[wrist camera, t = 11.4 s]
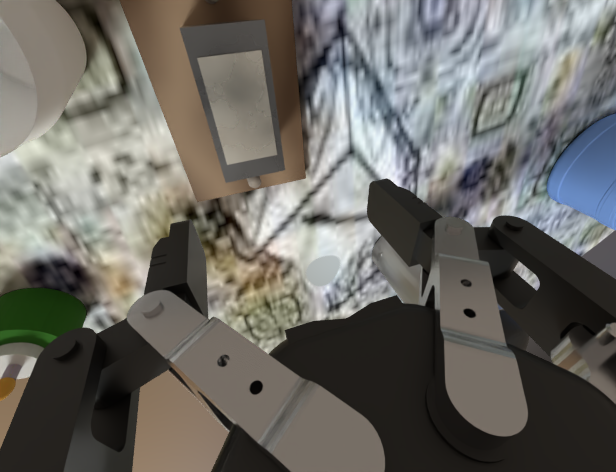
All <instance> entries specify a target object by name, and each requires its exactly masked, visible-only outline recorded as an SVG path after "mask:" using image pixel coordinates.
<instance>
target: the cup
mask: <svg viewBox="0 0 616 472" xmlns="http://www.w3.org/2000/svg"><path fill="white" fill-rule="evenodd" d="M86 62H87V55H86V48H85V44H84V41H83V38H82V36H81V34H80V32H79V30H78V28H77V26H76V24H75V23H74V21H73V20H72V18H71V17H70V16H69V14H68V13H67V12H66V11H65V9H64V8H63V7H62V6H61V5H60V4H59V3H58V2H57V1H56V0H0V157H2V156H4V155H6V154H8V153H10V152H12V151H13V150H15V149H17V148H18V147H20V146H22V145H23V144H25V143H27V142H30V141H32V140H34V139H36V138H38V137H40V136H42V135H43V134H44V133H46V132H47V131H48V130H49V129H50V128H51V127H52V126H53V125H54V124H55V123H56V122H57V120H58V119H59V117H60V116H61V114H62V112H63V110H64V109H65V107H66V105H67V103H68V101H69V100H70V98H71V96H72V94H73V92H74V90H75V88H76V87H77V85H78V83H79V81H80V79H81V77H82V75H83V73H84V71H85V68H86Z"/></svg>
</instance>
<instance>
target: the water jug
mask: <svg viewBox="0 0 616 472" xmlns="http://www.w3.org/2000/svg"><path fill="white" fill-rule="evenodd" d="M547 192H548V194H549V196H550V197H551V198H552V199H553V200H555V201H557V202H559V203H561V204H565V205H568V206H570V207H572V208H574V209H576V210H578V211H580V212H582V213H584V214H586V215H588V216H590V217H592V218H594V219H596V220H597V221H598V222H600V223H601V224H603V225H605V226H607V227H609V228H611V229H614V230H616V114H612V115H609V116H607V117H605V118H603V119H601V120H599V121H597V122H596V123H594V124H593V125H591V126H590V127H589V128H587V129H586V130H585V131H583V132H582V133H581V134H580V135H579V136H578V137H577V138H576V139H575V140H574V141H573V142H572V143H571V144H570V145H569V146H568V147H567V148H566V150H565V151H564V152H563V153H562V155H561V156H560V157H559V159H558V160H557V162H556V163H555V165H554V167H553V169H552V171H551V173H550V175H549V178H548V182H547Z"/></svg>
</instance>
